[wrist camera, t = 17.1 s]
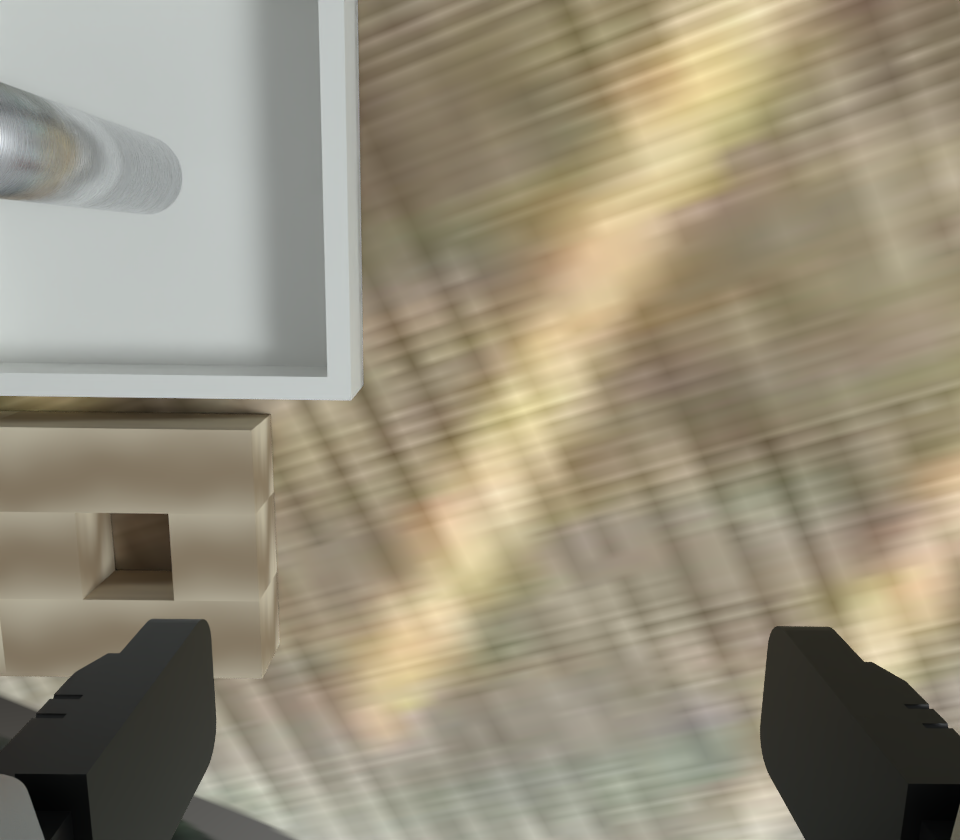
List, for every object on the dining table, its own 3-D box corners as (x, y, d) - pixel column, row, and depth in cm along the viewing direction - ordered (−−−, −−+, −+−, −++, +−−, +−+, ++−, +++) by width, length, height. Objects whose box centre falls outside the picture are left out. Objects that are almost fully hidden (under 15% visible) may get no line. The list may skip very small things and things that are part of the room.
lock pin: (84, 116, 36) (-250, 0, 19) (195, 118, 36) (-41, 5, 19) (93, 229, 37) (-217, 213, 20) (201, 231, 37) (-19, 216, 20)
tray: (-87, -58, 35) (-158, -97, 31) (356, -50, 35) (342, -87, 31) (-36, 379, 39) (-92, 394, 35) (363, 384, 39) (351, 400, 35)
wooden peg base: (-189, 408, 39) (-312, 438, 33) (270, 414, 39) (232, 445, 33) (-152, 639, 42) (-261, 706, 36) (279, 643, 42) (246, 711, 36)
